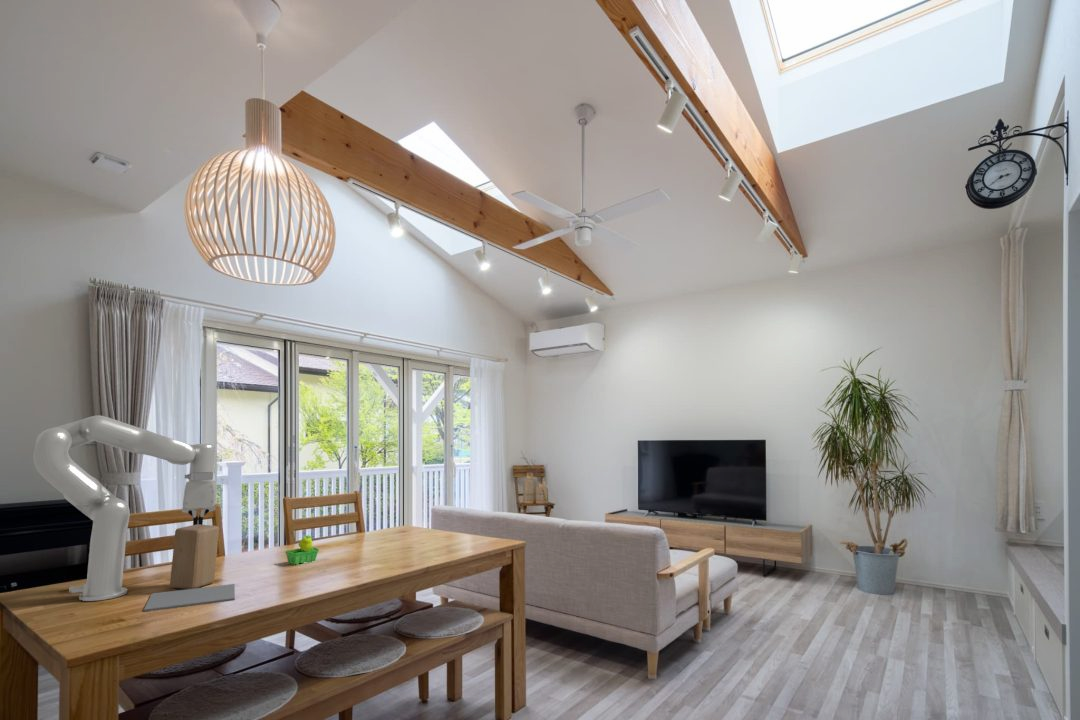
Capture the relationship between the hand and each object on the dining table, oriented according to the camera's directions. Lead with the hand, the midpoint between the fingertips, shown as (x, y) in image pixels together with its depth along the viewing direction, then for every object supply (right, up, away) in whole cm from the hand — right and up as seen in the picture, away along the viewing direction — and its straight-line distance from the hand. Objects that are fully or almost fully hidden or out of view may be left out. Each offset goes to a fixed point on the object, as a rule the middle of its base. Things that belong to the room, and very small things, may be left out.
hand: (197, 528), depth 206 cm
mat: (+13, -16, -23) cm, 31 cm away
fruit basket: (+27, -23, +26) cm, 44 cm away
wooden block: (+4, -18, -9) cm, 20 cm away
